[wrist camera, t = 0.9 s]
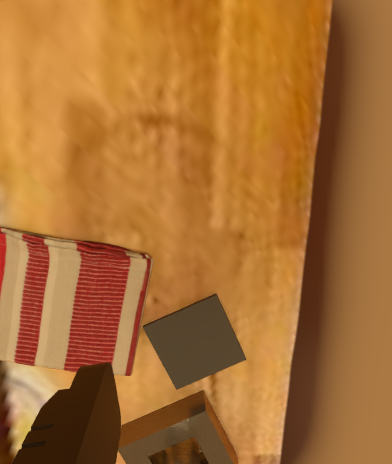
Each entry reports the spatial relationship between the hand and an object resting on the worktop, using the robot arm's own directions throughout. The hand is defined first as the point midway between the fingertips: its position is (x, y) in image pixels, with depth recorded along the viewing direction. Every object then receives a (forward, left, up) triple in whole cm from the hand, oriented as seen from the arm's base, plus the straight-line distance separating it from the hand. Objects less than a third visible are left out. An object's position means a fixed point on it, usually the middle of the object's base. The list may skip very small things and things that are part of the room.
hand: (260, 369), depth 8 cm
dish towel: (-21, -2, -29) cm, 35 cm away
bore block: (-15, -28, -28) cm, 42 cm away
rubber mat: (-7, -15, -28) cm, 32 cm away
